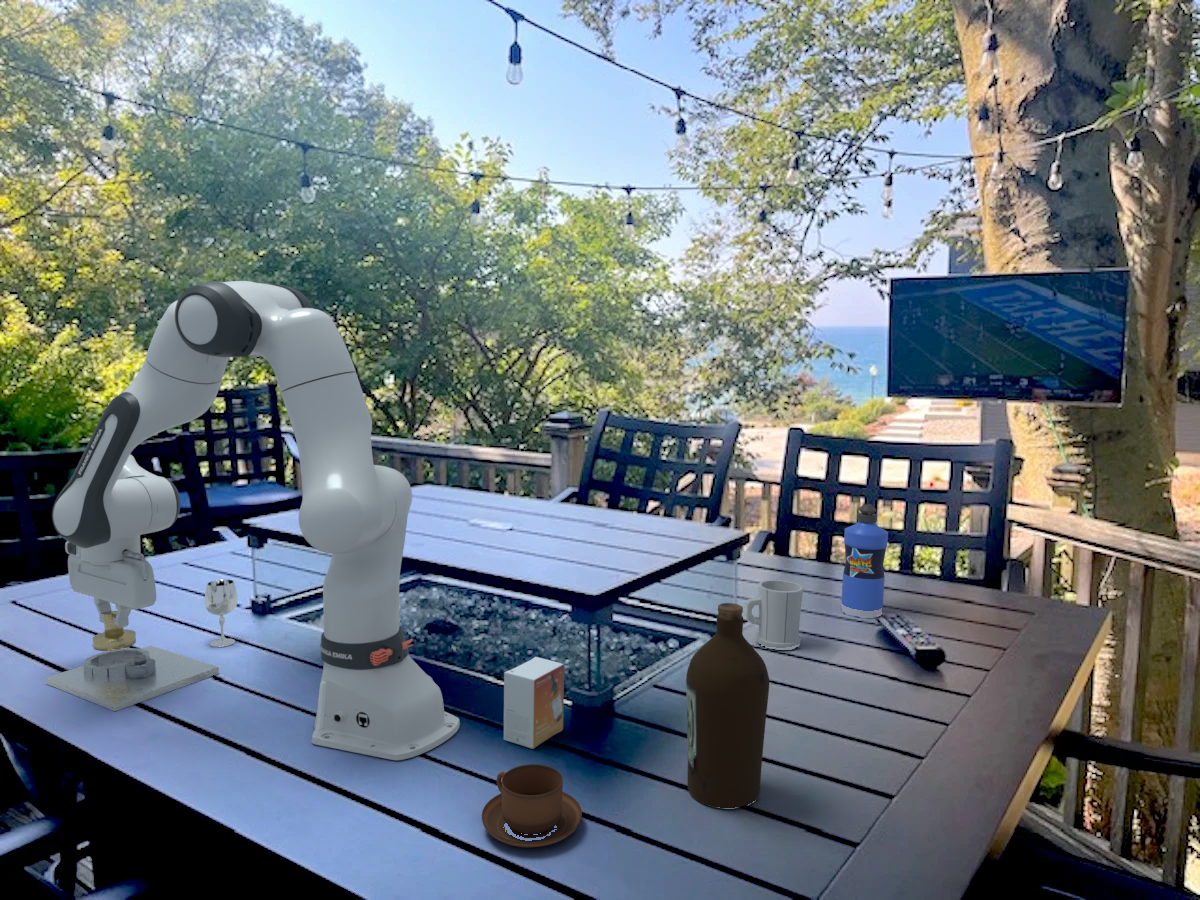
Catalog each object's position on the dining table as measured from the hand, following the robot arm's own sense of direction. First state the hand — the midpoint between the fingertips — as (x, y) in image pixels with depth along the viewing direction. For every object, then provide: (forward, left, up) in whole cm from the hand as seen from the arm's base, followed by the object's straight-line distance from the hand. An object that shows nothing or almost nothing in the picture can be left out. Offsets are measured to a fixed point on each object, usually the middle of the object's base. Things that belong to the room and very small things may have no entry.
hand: (114, 624), depth 140 cm
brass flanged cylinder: (0, 0, -4) cm, 4 cm away
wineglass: (-2, -19, -9) cm, 21 cm away
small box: (-75, -19, -9) cm, 78 cm away
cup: (-94, -77, -9) cm, 122 cm away
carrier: (-5, 0, -9) cm, 10 cm away
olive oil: (-105, -19, -9) cm, 107 cm away
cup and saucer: (-88, +1, -9) cm, 89 cm away
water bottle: (-105, -109, -9) cm, 151 cm away
